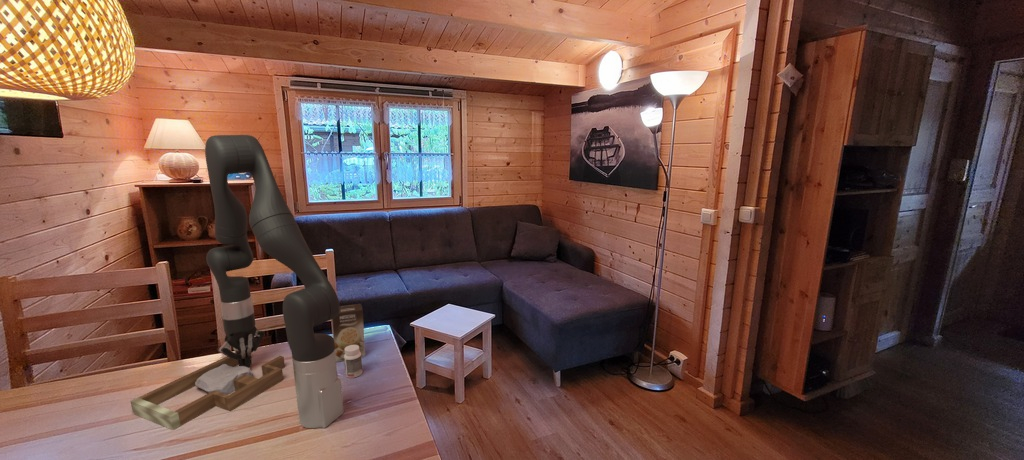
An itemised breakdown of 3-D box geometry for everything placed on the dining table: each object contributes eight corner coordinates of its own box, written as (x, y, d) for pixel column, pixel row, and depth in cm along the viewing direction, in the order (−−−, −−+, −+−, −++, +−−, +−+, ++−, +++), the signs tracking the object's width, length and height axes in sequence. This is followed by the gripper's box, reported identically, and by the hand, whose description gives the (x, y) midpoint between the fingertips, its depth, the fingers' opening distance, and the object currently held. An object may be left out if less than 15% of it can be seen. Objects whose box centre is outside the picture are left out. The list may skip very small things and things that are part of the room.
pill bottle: (366, 372, 117) (364, 346, 115) (352, 380, 113) (350, 353, 111) (356, 367, 119) (354, 342, 118) (342, 375, 115) (339, 348, 114)
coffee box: (334, 363, 122) (330, 314, 119) (334, 353, 127) (330, 307, 124) (366, 356, 126) (362, 309, 122) (364, 347, 131) (361, 302, 128)
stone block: (227, 403, 105) (257, 376, 114) (221, 390, 103) (251, 363, 112) (192, 399, 108) (223, 373, 117) (185, 385, 106) (218, 360, 115)
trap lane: (298, 370, 117) (297, 360, 116) (188, 436, 90) (185, 422, 90) (248, 357, 125) (246, 346, 124) (132, 413, 98) (130, 401, 97)
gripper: (222, 324, 105) (231, 383, 109) (268, 306, 117) (275, 359, 121) (204, 320, 108) (213, 377, 111) (251, 303, 120) (258, 355, 123)
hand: (245, 368), depth 116 cm, fingers closed
